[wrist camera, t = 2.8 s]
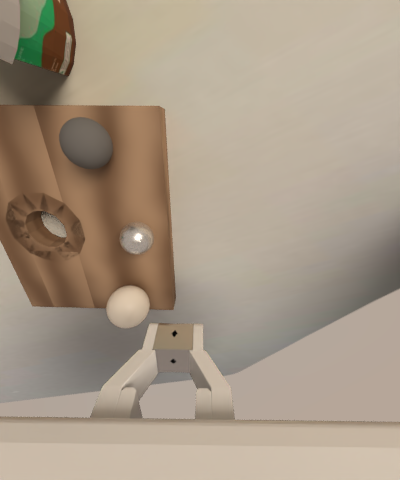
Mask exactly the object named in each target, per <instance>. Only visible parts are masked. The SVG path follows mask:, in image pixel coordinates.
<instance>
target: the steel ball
mask: <svg viewBox="0 0 400 480" xmlns="http://www.w3.org/2000/svg"><path fill="white" fill-rule="evenodd" d="M119 240H120V244H121V246H122V248H123V249H124V250H125V251H126V252H128V253H130V254H134V255H140V254H144V253H146V252H147V251H148V250H149V249H150V248H151V247H152V245H153V242H154V234H153V231H152V230H151V228H150V227H149V226H148V225H146V224H144V223H142V222H131V223H129V224H127V225H126V226H125V227H124V228H123V229H122V230H121V233H120V237H119Z"/></svg>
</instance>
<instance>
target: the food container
mask: <svg viewBox="0 0 400 480" xmlns="http://www.w3.org/2000/svg"><path fill="white" fill-rule="evenodd" d="M75 47H76V40H75V32H74V24H73V18H72V16H71V13H70V10H69V7H68V4H67V2H66V0H0V59H2V60H4V61H6V62H8V63H10V64H13V61H14V59H17V60H20V61H23V62H26V63H29V64H32V65H35V66H38V67H41V68H44V69H47V70H50V71H53V72H57V73H60V74H63V75H66V76H69V74H70V71H71V69H72V66H73V64H74V56H75Z"/></svg>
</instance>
